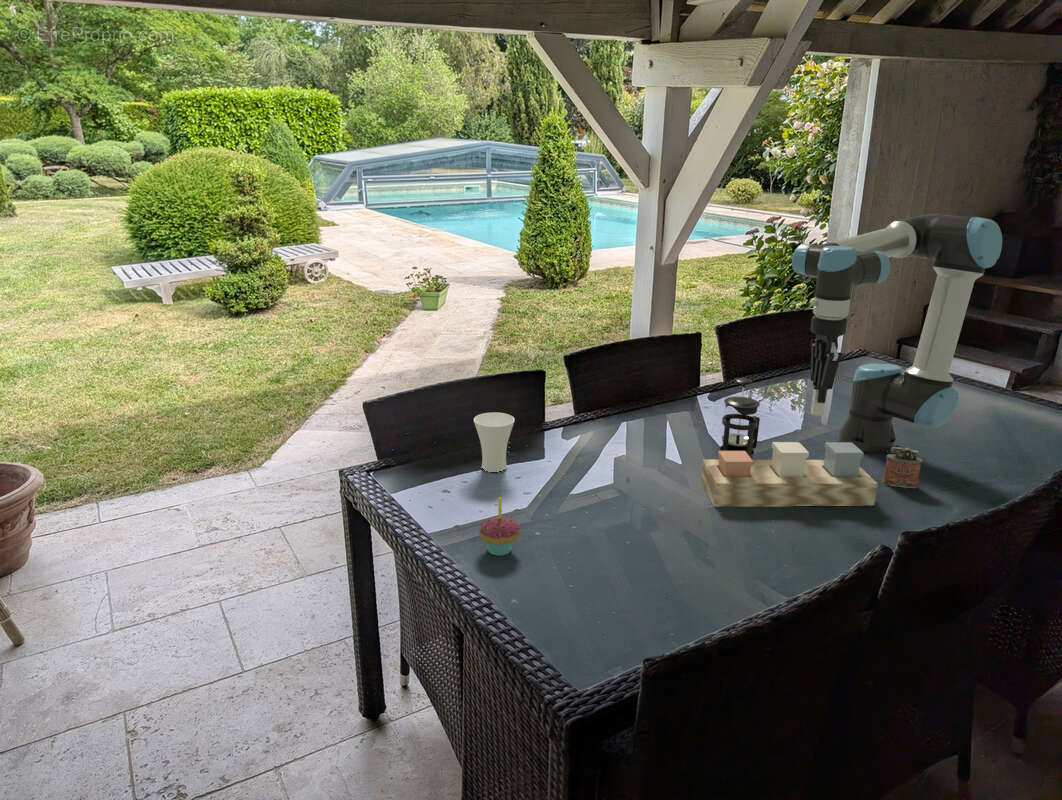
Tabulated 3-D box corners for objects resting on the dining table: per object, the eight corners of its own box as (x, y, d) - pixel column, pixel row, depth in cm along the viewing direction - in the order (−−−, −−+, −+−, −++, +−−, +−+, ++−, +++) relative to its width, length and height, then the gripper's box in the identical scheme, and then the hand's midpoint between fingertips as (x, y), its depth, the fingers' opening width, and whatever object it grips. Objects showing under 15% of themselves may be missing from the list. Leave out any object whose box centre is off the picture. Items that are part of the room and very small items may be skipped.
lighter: (916, 485, 194) (923, 448, 190) (917, 490, 190) (925, 453, 187) (881, 480, 196) (888, 443, 193) (882, 485, 193) (889, 448, 190)
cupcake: (479, 540, 164) (478, 489, 160) (519, 539, 164) (519, 488, 160) (480, 561, 156) (479, 508, 152) (522, 560, 156) (522, 507, 152)
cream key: (795, 466, 189) (799, 442, 187) (805, 477, 183) (809, 452, 181) (769, 466, 189) (772, 442, 187) (778, 477, 182) (781, 452, 180)
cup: (521, 464, 202) (521, 416, 198) (503, 479, 193) (503, 429, 189) (485, 457, 206) (485, 409, 202) (466, 471, 197) (465, 422, 193)
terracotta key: (742, 474, 189) (745, 450, 187) (750, 486, 183) (753, 461, 181) (715, 474, 189) (718, 450, 187) (722, 486, 183) (725, 461, 181)
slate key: (848, 466, 189) (851, 442, 187) (859, 477, 183) (863, 452, 181) (821, 466, 189) (825, 442, 187) (832, 477, 183) (836, 452, 181)
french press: (732, 471, 200) (742, 387, 192) (708, 458, 207) (716, 377, 200) (765, 463, 205) (775, 381, 198) (740, 451, 213) (749, 371, 206)
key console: (849, 481, 195) (852, 459, 193) (873, 506, 182) (877, 483, 180) (700, 481, 194) (702, 459, 192) (714, 506, 180) (716, 483, 178)
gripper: (803, 309, 180) (792, 404, 188) (823, 323, 167) (811, 424, 175) (835, 309, 180) (823, 404, 188) (858, 322, 167) (843, 423, 175)
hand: (817, 413), depth 181 cm, fingers closed
